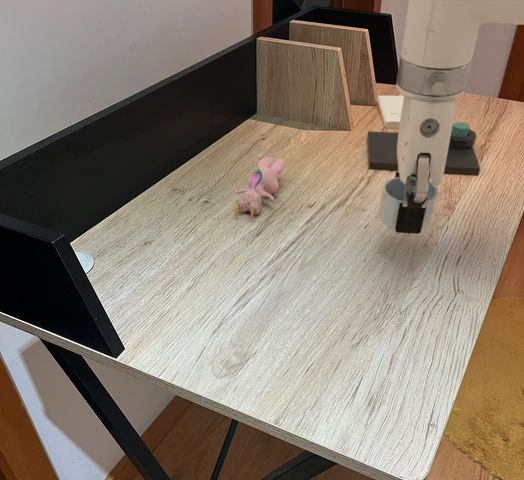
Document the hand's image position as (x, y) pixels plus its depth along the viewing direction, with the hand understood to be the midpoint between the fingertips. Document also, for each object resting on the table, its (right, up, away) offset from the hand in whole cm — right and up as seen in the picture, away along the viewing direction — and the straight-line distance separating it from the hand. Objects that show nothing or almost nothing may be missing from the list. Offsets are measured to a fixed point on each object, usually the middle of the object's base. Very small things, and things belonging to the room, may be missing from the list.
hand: (405, 214), depth 75 cm
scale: (+8, +16, +24) cm, 30 cm away
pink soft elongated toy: (-19, +6, +14) cm, 24 cm away
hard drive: (+8, +28, +36) cm, 46 cm away
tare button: (+15, +20, +24) cm, 35 cm away
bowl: (0, -1, +1) cm, 1 cm away
